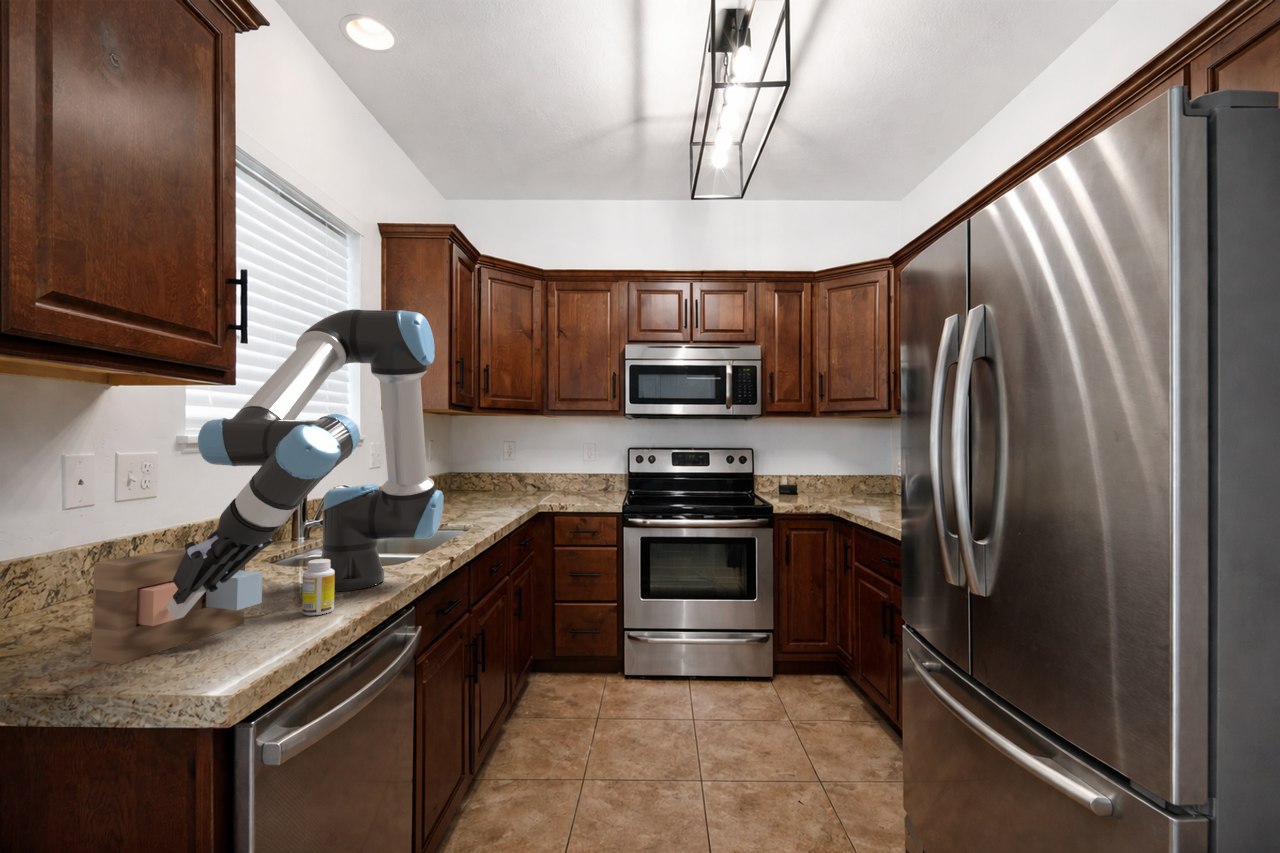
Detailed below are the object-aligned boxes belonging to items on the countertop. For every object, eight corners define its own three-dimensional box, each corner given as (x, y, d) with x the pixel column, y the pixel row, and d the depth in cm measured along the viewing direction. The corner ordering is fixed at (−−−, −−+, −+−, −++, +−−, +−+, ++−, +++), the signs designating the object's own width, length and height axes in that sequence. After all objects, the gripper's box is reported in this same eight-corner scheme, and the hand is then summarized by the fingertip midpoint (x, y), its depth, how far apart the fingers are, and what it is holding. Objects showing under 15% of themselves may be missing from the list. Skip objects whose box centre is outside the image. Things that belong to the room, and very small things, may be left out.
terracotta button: (152, 613, 94) (153, 580, 94) (183, 617, 92) (184, 583, 92) (120, 621, 90) (121, 587, 90) (152, 626, 88) (153, 590, 88)
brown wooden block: (218, 621, 107) (221, 541, 107) (243, 624, 105) (245, 543, 105) (91, 660, 87) (94, 562, 88) (118, 665, 86) (122, 565, 86)
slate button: (231, 599, 102) (232, 569, 103) (261, 602, 101) (262, 572, 101) (205, 606, 98) (206, 575, 98) (236, 610, 96) (237, 578, 96)
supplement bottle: (334, 606, 116) (335, 556, 117) (333, 614, 111) (334, 562, 112) (303, 610, 114) (304, 559, 114) (300, 618, 109) (301, 564, 109)
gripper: (283, 489, 93) (203, 583, 97) (203, 496, 80) (115, 604, 84) (309, 523, 91) (226, 617, 95) (231, 536, 79) (140, 644, 83)
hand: (174, 611), depth 90 cm, fingers closed
